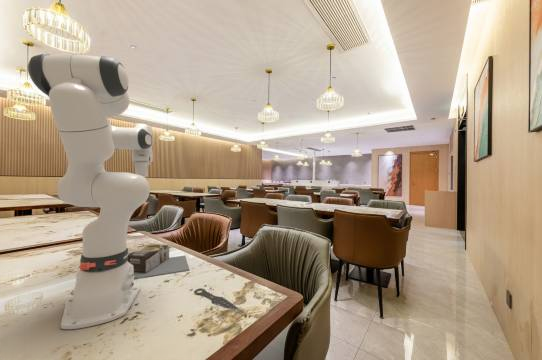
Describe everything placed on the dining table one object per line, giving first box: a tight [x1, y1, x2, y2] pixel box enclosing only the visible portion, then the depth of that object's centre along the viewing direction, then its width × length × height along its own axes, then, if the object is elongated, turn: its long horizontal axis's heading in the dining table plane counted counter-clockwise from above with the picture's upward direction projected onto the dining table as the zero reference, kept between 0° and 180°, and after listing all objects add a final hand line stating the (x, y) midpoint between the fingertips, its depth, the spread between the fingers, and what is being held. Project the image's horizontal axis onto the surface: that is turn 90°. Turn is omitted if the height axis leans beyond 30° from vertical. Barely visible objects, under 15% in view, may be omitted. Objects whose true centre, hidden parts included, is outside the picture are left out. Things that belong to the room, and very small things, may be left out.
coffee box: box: [127, 243, 170, 273], centre depth 95 cm, size 9×6×16 cm
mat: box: [134, 255, 190, 280], centre depth 94 cm, size 17×20×1 cm
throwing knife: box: [193, 287, 242, 313], centre depth 70 cm, size 4×20×1 cm, turn 56°
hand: (142, 186), depth 110 cm, fingers closed
